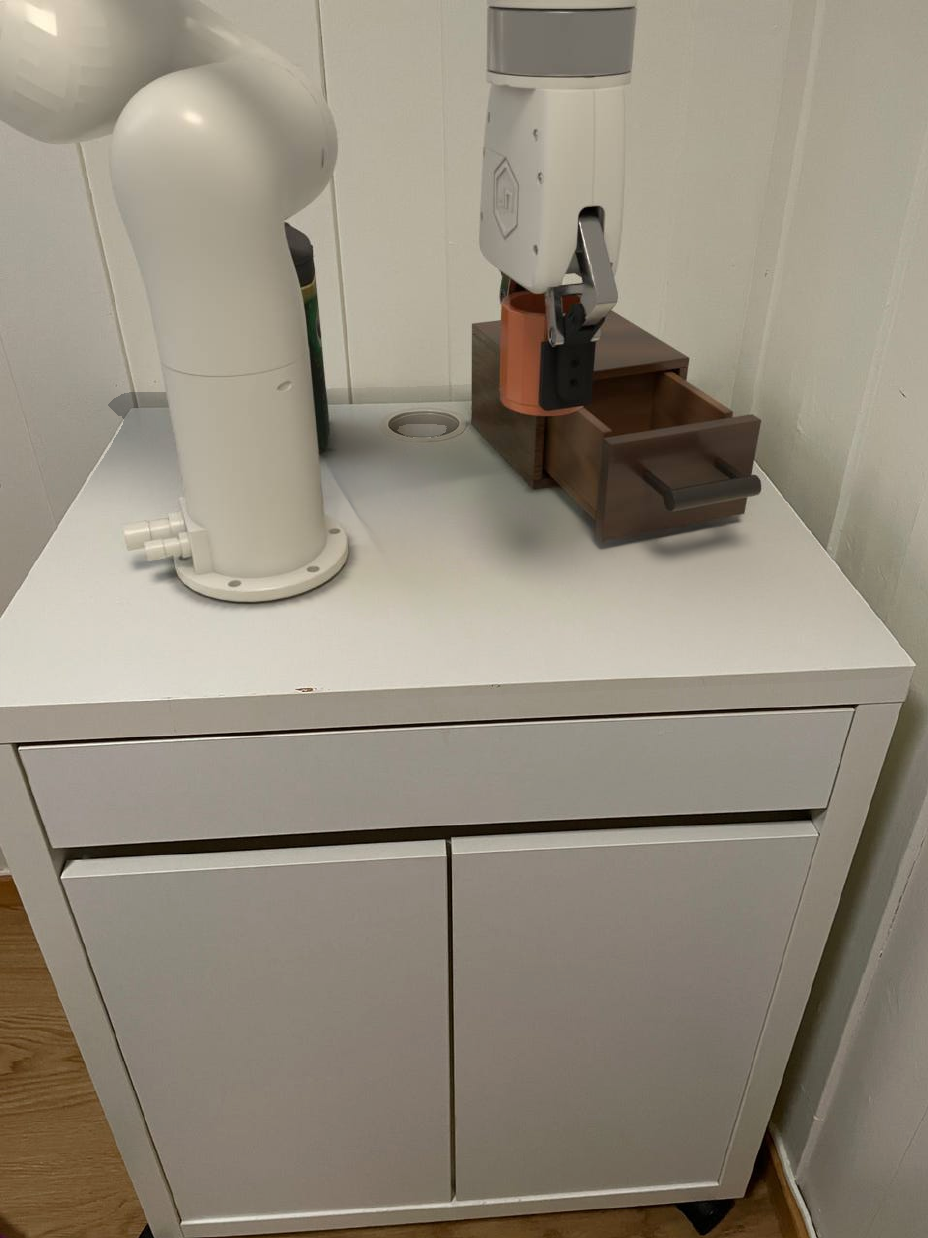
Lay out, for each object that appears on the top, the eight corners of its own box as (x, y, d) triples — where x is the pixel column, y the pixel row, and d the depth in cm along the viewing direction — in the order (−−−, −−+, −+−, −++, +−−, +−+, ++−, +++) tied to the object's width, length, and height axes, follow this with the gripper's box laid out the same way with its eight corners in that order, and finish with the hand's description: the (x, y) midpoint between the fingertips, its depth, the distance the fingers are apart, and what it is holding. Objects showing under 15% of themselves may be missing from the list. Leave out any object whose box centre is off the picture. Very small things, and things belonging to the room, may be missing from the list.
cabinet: (675, 464, 85) (690, 357, 80) (533, 489, 81) (537, 378, 76) (599, 404, 97) (607, 307, 91) (471, 423, 93) (471, 323, 87)
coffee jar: (244, 422, 93) (216, 216, 82) (328, 417, 94) (311, 213, 83) (241, 466, 85) (209, 244, 75) (332, 460, 86) (314, 240, 76)
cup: (519, 421, 58) (522, 320, 54) (487, 388, 62) (488, 293, 59) (602, 410, 59) (610, 310, 56) (565, 378, 64) (570, 285, 60)
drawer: (781, 542, 72) (801, 445, 68) (632, 573, 69) (644, 472, 64) (657, 445, 86) (667, 359, 82) (529, 467, 83) (532, 378, 79)
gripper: (438, 39, 56) (442, 350, 66) (559, 67, 42) (541, 452, 53) (559, 36, 58) (545, 338, 68) (711, 62, 44) (665, 433, 55)
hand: (543, 384), depth 60 cm, fingers closed on cup, 5 cm apart
